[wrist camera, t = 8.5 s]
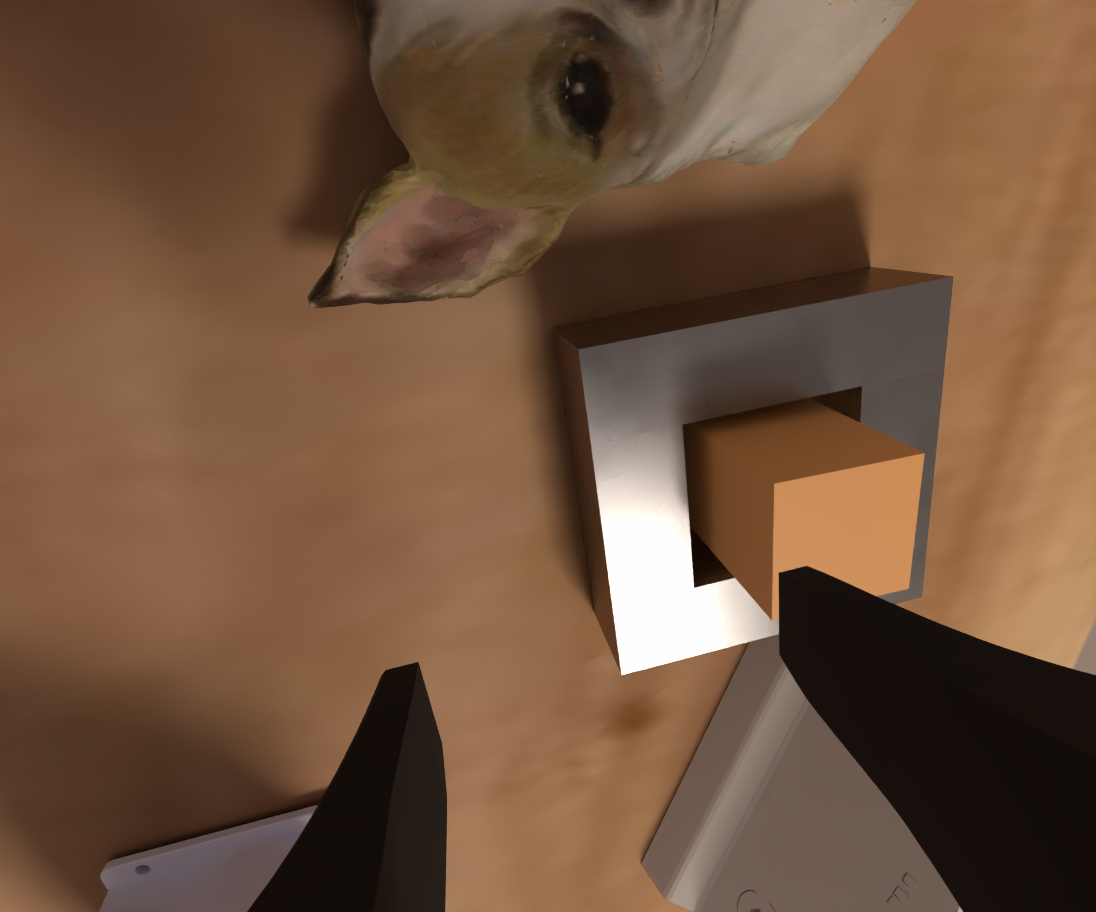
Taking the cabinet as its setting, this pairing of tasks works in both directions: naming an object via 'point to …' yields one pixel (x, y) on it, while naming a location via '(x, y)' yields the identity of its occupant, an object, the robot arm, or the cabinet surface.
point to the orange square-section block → (803, 497)
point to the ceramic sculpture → (570, 118)
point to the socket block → (717, 390)
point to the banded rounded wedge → (784, 814)
